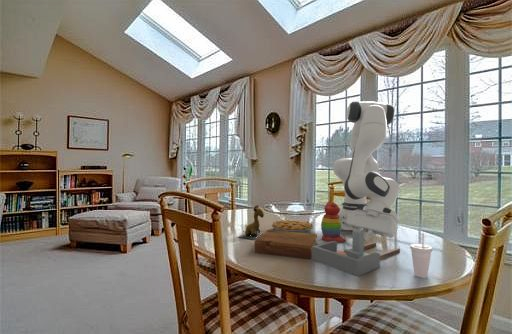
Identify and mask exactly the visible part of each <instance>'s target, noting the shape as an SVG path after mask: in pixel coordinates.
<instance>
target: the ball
mask: <svg viewBox="0 0 512 334" xmlns="http://www.w3.org/2000/svg"><path fill="white" fill-rule="evenodd" d="M343 251H344V250H337V252H336V253H339V254H343V255H346V253H345V252H343ZM346 256H347V255H346Z"/></svg>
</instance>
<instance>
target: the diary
mask: <svg viewBox="0 0 512 334" xmlns="http://www.w3.org/2000/svg"><path fill="white" fill-rule="evenodd" d="M264 232H265V233H264ZM264 232H263V233H264V234H262V235H261V236H258V237H259V238H257V239H256V240H254V242H253V243H254V253H256V254H264V255H272V256H281V257H288V258H289V257H290V258H298V259H305V260H307V259H308V260H312V246H315V245H317V243H316V240H317V238H318V233H297V232H285V231H274V229H273V230H272V229H270V230H269V229H267V230H266V231H264Z"/></svg>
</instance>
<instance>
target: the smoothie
mask: <svg viewBox="0 0 512 334" xmlns="http://www.w3.org/2000/svg"><path fill="white" fill-rule="evenodd" d="M409 249H410V251H411V259H412V267H413V274H414V276H415V277H418V278H421V279H425V278H426V279H427V278H428V275H429V268H430V262H431V261H430V260H431V257H432V252H433V247H432V246H430V245H428V244H425V233H424V232H422V233H421V243H410V245H409Z"/></svg>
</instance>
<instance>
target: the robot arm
mask: <svg viewBox="0 0 512 334" xmlns="http://www.w3.org/2000/svg"><path fill="white" fill-rule="evenodd" d="M395 110H396V108H395V106H394V105H392V104H391V103H386V102H385V103H383V102H378V101H359V100H357V101H351V103H349V105H348V107H347V108H346V118H347V120H348V122H351V123H353V127H352V130H351V135H350V136H351V137H350V142H349V147H350V150H352V151H353V152H352V157H343V158H339V159H336V160H335V161H334V163H333V166H332V170H333V173H334V175H335V176H336V177H337V178H338V179H340V181H341V182H342V185H343V186H344V197H345V198H344V200H345V201H344V202H342V203H340V204H341V206H342V208H340V211H339V213H338V215H339V218H340V221H341V230H344V231H355V230H359V231H364V242H365V243H366V242H368V241H369V239H371V238H372V237H374V235H378V236H382V237H386V238H394V237H395V236H396V233H397V231H398V229H399V225H398V224H400V218H399V215H398V214H397V213H396V211H395V210H394V209H392V207H393V206H394V205H395V204H396V201H397V198H398V196H399V193H400V186H399V184H398V182H397V181H396V180H395V179H393V178H390V177H384V176H382V175H381V174H380V173H379V169H380V168H379V167H380V166H379V163H378V162H377V160H376V159H375V158H374V156H373V153H374V152H375V151H376V150H378V149H379V148H380V147H381V146H383V144H384V143H385V141H386V138H387V133H388V131H387V130H388V129H387V128H388V127H387V126H389V125H390V124H392V123H393V121H394V119H395V116H396V111H395ZM367 197H368V198H369V202H368V203H367Z"/></svg>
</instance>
